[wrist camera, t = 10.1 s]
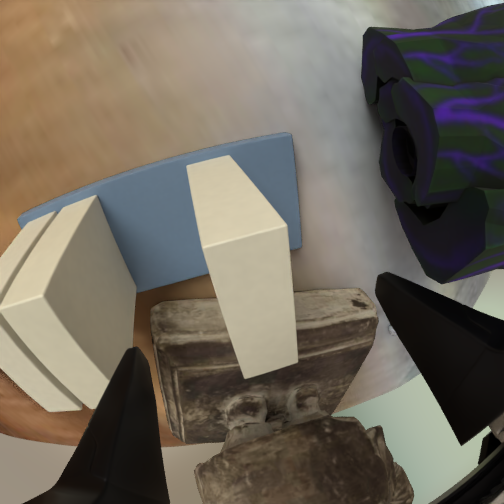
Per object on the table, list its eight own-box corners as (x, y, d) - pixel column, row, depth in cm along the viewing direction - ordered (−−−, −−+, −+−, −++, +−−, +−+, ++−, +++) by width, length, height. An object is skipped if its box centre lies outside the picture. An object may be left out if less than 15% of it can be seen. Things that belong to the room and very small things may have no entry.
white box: (212, 265, 19) (244, 379, 12) (185, 165, 15) (201, 247, 8) (249, 255, 19) (298, 362, 12) (229, 154, 16) (288, 224, 8)
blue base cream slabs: (71, 303, 19) (45, 417, 11) (22, 212, 14) (-54, 314, 6) (297, 240, 21) (370, 340, 13) (286, 131, 17) (394, 185, 8)
